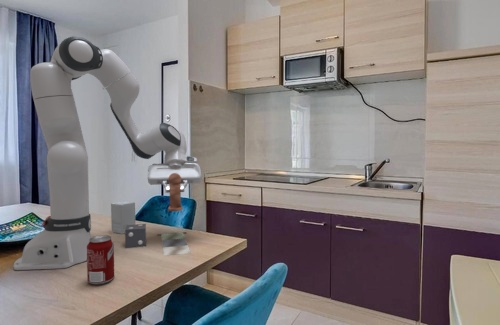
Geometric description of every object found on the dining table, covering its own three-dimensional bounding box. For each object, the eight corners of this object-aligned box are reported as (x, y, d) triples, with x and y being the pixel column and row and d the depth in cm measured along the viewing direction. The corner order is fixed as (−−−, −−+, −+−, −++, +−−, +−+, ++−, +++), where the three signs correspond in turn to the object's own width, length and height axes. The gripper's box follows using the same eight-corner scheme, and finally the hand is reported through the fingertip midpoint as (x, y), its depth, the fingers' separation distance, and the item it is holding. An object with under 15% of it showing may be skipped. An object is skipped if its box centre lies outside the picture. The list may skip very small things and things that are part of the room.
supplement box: (136, 230, 137) (135, 202, 136) (121, 234, 130) (120, 204, 130) (125, 227, 141) (125, 200, 140) (110, 231, 134) (110, 203, 134)
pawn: (168, 211, 112) (167, 173, 111) (167, 209, 117) (167, 172, 116) (183, 210, 114) (182, 173, 113) (181, 208, 119) (181, 172, 118)
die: (125, 248, 112) (125, 229, 112) (126, 243, 119) (126, 224, 118) (145, 247, 114) (145, 228, 114) (145, 241, 121) (145, 223, 121)
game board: (159, 257, 103) (159, 256, 103) (157, 234, 130) (157, 234, 130) (195, 253, 107) (195, 253, 107) (186, 232, 134) (186, 231, 134)
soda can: (103, 287, 82) (103, 242, 81) (81, 284, 83) (80, 241, 82) (119, 276, 88) (118, 235, 88) (98, 274, 90) (97, 234, 89)
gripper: (147, 158, 119) (144, 187, 110) (201, 158, 123) (202, 185, 114) (149, 169, 124) (146, 197, 115) (200, 168, 128) (202, 195, 119)
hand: (175, 191), depth 114 cm, fingers closed on pawn, 4 cm apart
